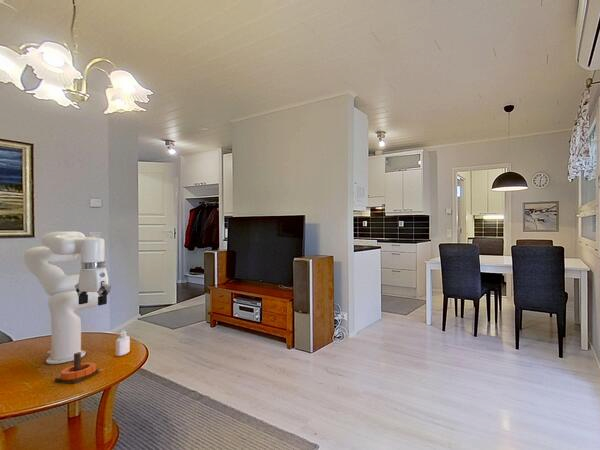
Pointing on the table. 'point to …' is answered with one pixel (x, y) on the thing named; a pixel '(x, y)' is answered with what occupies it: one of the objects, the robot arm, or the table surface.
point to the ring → (85, 370)
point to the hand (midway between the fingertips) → (92, 304)
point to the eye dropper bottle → (122, 344)
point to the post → (76, 368)
